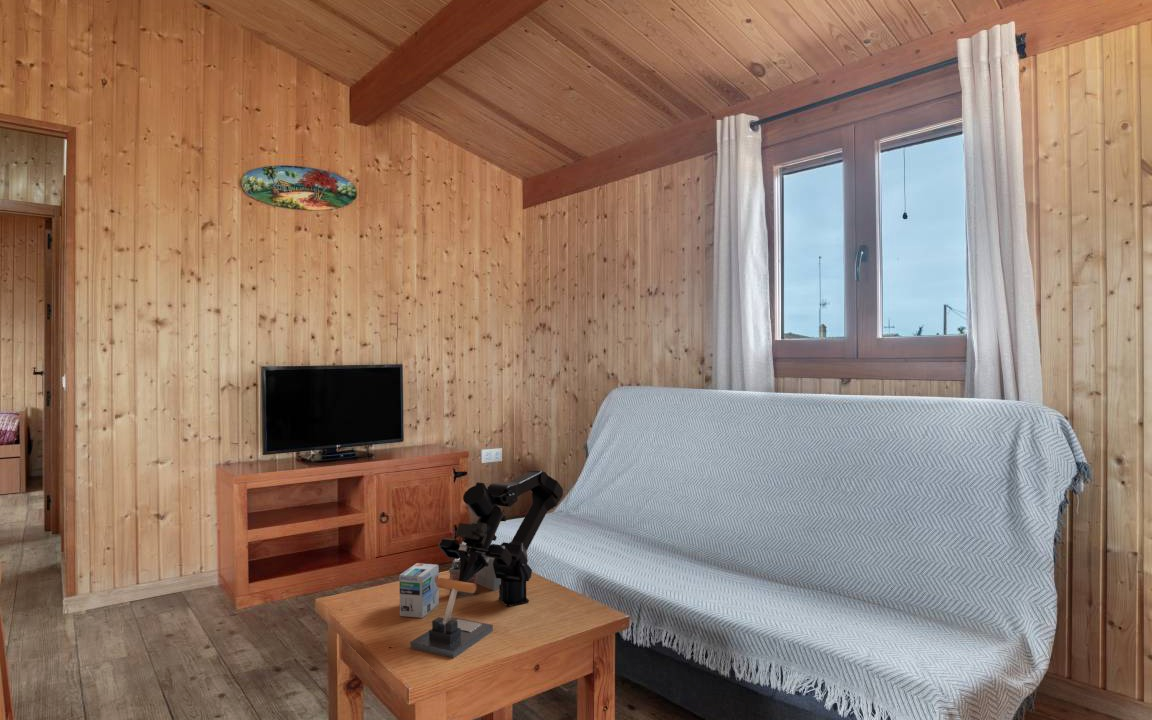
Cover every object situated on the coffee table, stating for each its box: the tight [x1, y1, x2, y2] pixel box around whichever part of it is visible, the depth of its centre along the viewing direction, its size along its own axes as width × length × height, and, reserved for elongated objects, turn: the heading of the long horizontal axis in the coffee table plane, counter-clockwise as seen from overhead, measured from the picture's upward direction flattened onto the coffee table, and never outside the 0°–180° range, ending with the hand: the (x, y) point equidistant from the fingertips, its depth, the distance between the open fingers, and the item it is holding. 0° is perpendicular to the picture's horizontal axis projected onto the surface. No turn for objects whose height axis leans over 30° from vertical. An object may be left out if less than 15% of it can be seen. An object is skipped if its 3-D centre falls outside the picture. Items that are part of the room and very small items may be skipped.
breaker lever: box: [436, 577, 476, 625], centre depth 156 cm, size 2×10×10 cm, turn 64°
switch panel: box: [409, 616, 494, 659], centre depth 157 cm, size 16×12×6 cm
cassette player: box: [477, 558, 501, 592], centre depth 196 cm, size 16×3×10 cm, turn 43°
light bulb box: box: [398, 562, 440, 619], centre depth 175 cm, size 11×7×11 cm, turn 168°
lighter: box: [448, 558, 479, 598], centre depth 187 cm, size 8×3×10 cm, turn 114°
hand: (461, 583), depth 160 cm, fingers closed
